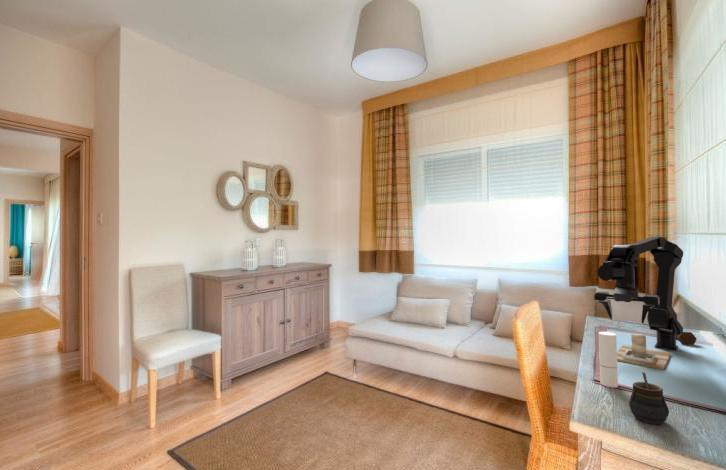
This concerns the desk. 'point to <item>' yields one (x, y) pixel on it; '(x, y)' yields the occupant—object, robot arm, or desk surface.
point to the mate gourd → (648, 402)
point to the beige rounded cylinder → (638, 345)
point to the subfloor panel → (658, 363)
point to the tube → (608, 359)
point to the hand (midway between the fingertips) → (626, 321)
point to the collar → (653, 357)
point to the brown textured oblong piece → (686, 338)
